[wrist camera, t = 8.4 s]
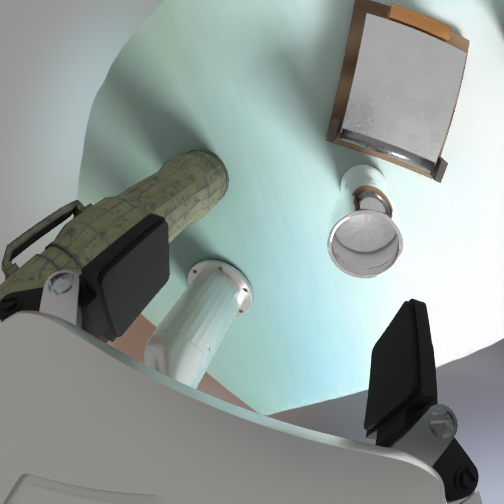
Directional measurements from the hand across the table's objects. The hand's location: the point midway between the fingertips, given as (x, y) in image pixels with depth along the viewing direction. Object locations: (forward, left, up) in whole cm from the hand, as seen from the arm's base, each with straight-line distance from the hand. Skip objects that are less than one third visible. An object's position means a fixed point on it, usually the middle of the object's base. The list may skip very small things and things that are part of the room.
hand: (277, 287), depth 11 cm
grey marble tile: (+9, -6, -24) cm, 27 cm away
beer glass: (-5, -5, -28) cm, 29 cm away
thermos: (-10, +17, -28) cm, 35 cm away
